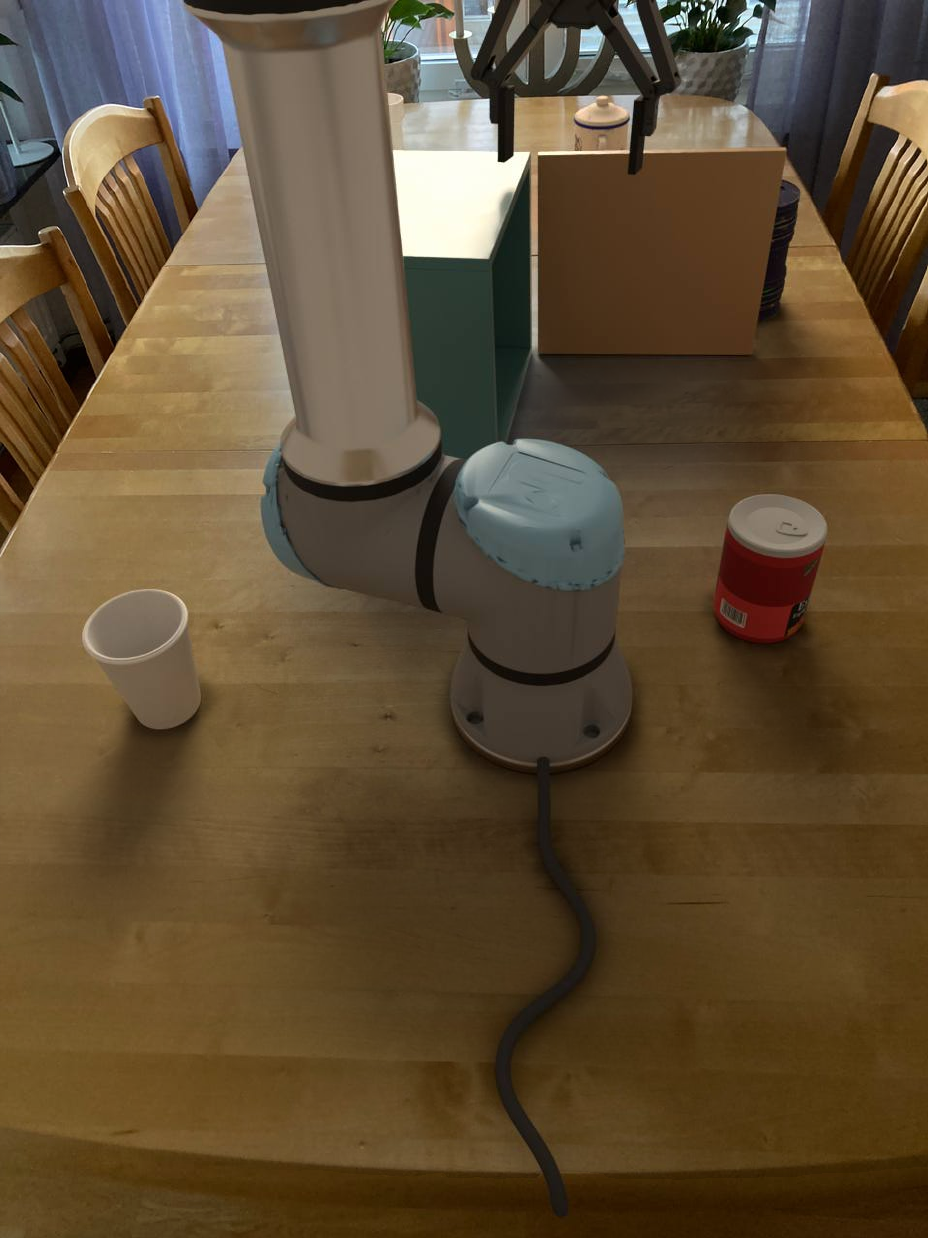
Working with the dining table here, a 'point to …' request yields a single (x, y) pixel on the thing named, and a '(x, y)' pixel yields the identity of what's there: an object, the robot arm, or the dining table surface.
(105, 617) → the dixie cup
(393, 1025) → the dining table surface
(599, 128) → the teacup with lid
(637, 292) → the fridge door
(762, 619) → the canned food
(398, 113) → the cup
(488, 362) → the box
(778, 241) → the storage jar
